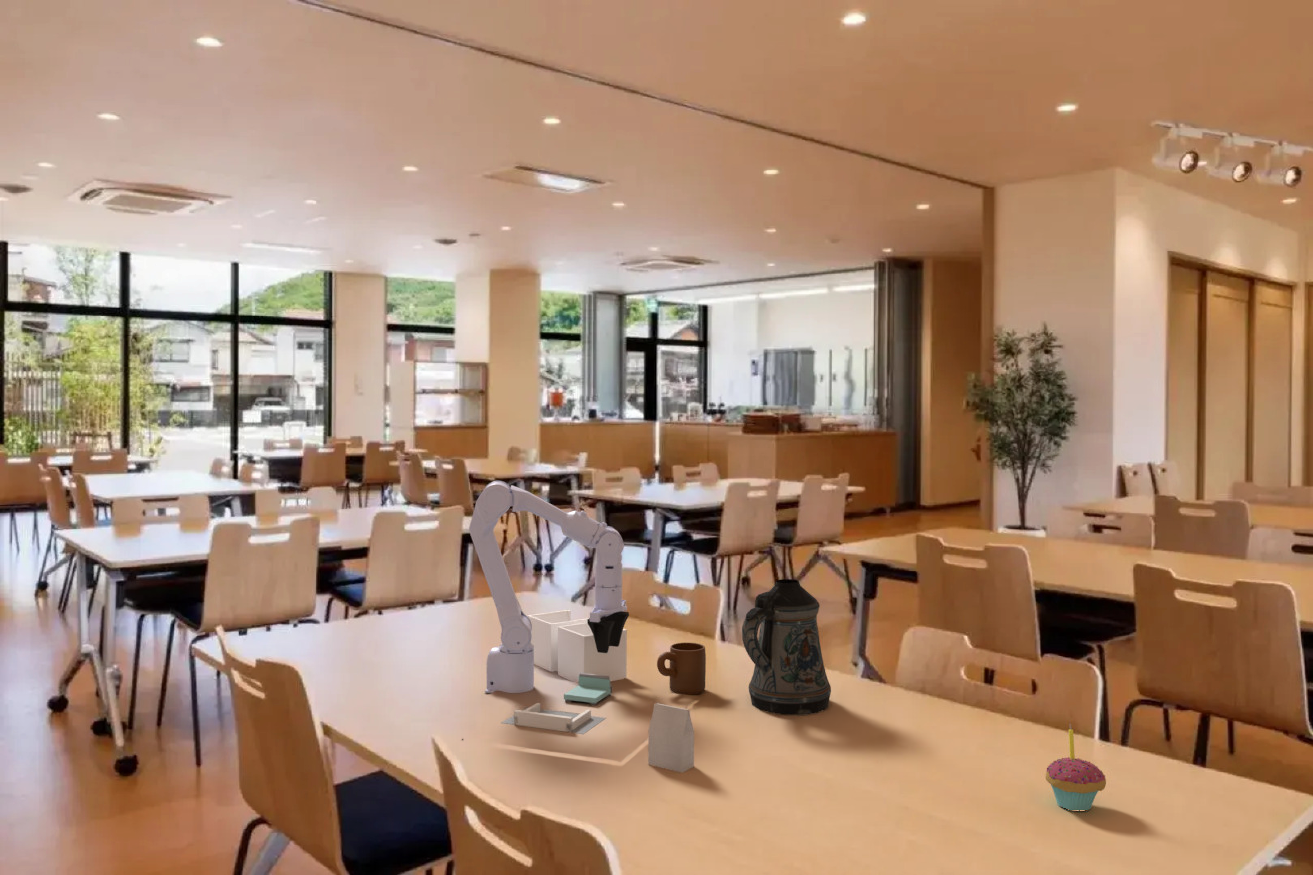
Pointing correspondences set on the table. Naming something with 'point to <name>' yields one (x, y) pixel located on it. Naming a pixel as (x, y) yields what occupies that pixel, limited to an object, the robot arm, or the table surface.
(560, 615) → the storage container
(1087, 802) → the cupcake
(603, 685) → the trolley
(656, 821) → the table surface
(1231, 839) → the table surface
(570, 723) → the dock
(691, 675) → the mug
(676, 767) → the light grey paper bag
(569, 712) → the ramp plate
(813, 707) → the beer stein
